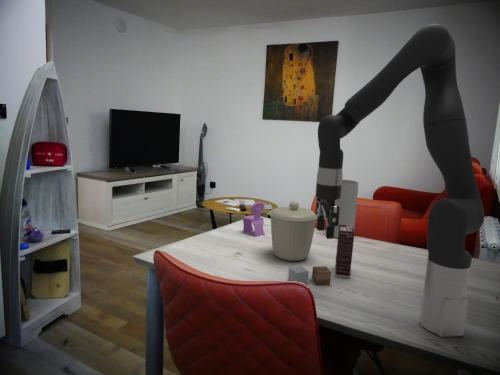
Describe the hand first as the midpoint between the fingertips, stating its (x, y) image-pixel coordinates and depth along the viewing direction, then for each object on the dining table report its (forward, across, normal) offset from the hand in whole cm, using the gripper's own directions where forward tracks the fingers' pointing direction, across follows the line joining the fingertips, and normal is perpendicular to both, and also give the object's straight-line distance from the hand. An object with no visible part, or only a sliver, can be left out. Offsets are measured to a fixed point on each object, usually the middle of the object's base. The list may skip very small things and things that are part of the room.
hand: (324, 234), depth 112 cm
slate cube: (+16, 0, +8) cm, 18 cm away
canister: (+16, +23, +4) cm, 28 cm away
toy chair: (+16, +52, +14) cm, 56 cm away
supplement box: (+16, +7, -10) cm, 20 cm away
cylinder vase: (+16, +50, -26) cm, 58 cm away
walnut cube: (+16, 0, 0) cm, 16 cm away
